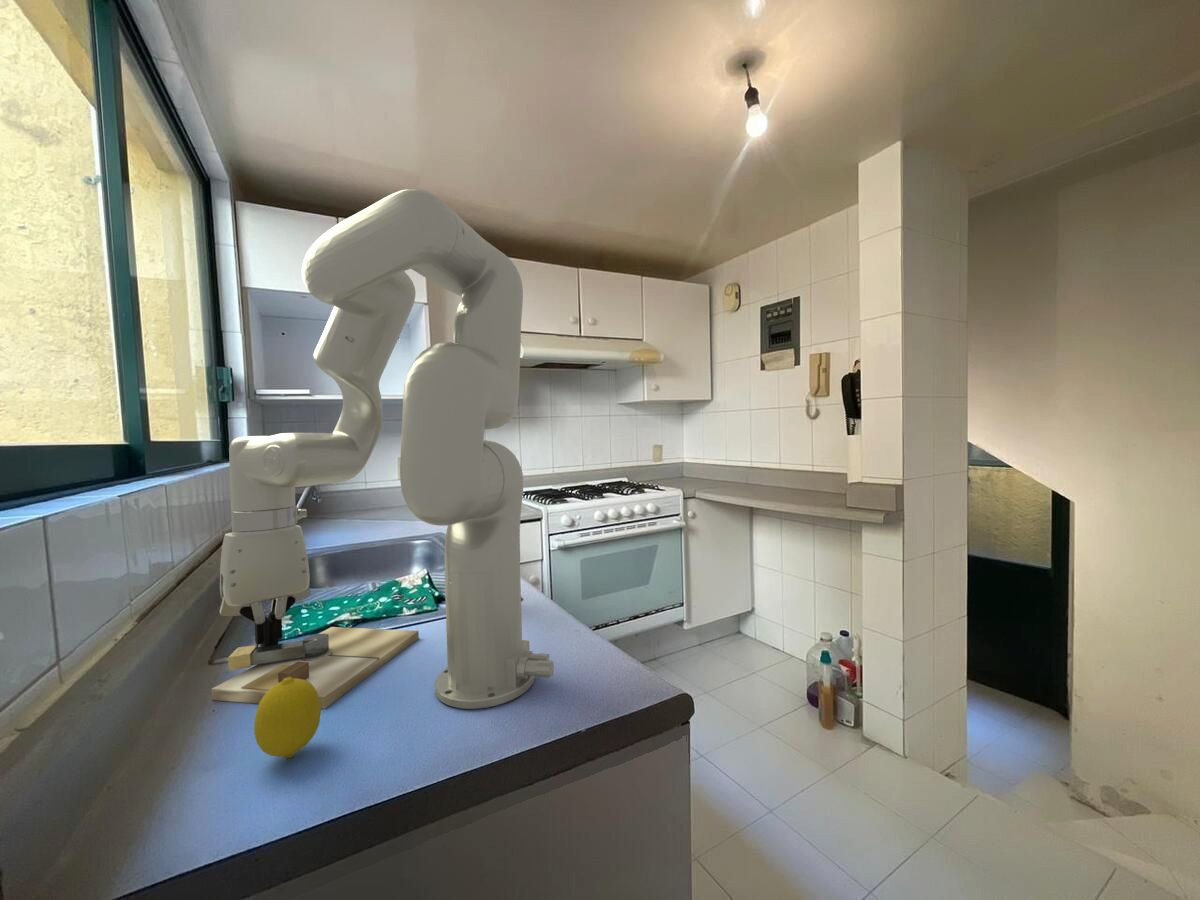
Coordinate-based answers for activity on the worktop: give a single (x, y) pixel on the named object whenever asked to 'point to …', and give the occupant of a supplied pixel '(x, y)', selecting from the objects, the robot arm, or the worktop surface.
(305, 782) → the worktop surface
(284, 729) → the lemon
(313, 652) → the lock bar
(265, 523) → the robot arm
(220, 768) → the worktop surface
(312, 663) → the board
